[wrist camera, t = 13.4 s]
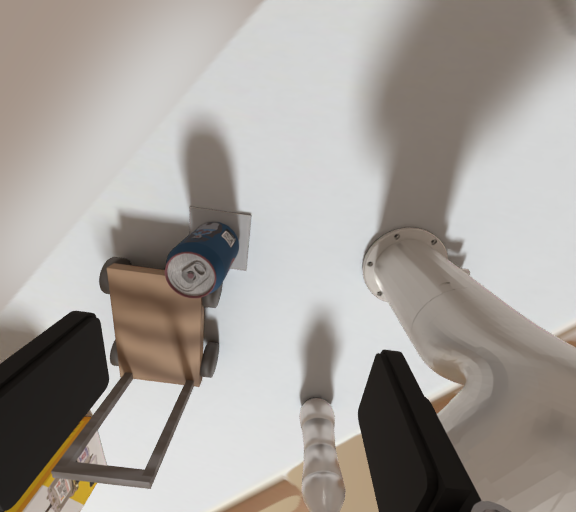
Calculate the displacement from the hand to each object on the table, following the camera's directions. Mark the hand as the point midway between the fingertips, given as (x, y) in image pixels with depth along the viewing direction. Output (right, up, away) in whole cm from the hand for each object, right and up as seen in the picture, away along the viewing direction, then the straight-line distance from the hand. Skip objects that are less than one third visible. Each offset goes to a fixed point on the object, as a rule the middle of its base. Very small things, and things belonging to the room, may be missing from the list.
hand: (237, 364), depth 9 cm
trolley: (-18, -6, +38) cm, 42 cm away
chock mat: (-9, +6, +33) cm, 34 cm away
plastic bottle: (+7, -26, +45) cm, 53 cm away
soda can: (-9, +6, +32) cm, 34 cm away
